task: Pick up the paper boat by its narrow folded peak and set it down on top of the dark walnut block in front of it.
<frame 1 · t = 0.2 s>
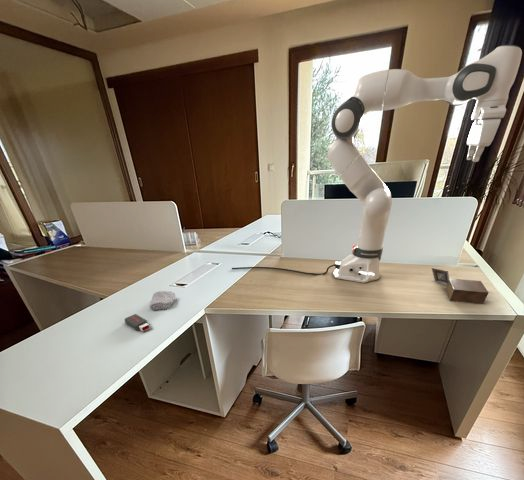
hand: (472, 160, 106), 48 cm above the table, tool pointing down, fingers open, 8 cm apart
walnut block: (463, 296, 121), on the table
stone block: (164, 304, 127), on the table
paper boat: (437, 282, 133), on the table
usb drive: (139, 325, 113), on the table
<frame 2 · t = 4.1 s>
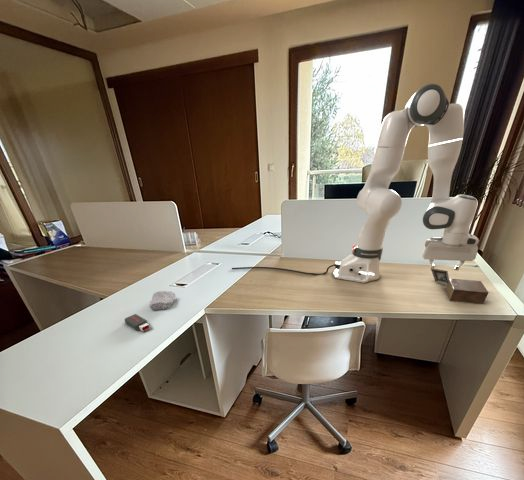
hand: (443, 269, 129), 6 cm above the table, tool pointing down, fingers open, 8 cm apart
paper boat: (437, 282, 133), on the table, touching gripper
everything else where it was.
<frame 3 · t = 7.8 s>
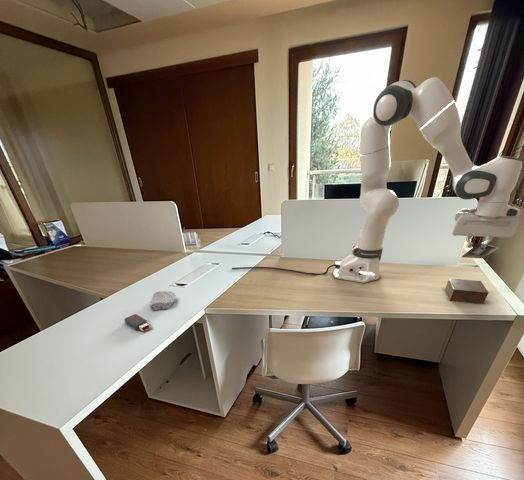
hand: (475, 247, 112), 19 cm above the table, tool pointing down, fingers closed on paper boat, 3 cm apart
paper boat: (484, 256, 112), point 16 cm above the table, touching gripper
everything else where it was.
when the fingers open (10 cm above the table, at t = 10.7 s): paper boat stays where it is, resting on walnut block.
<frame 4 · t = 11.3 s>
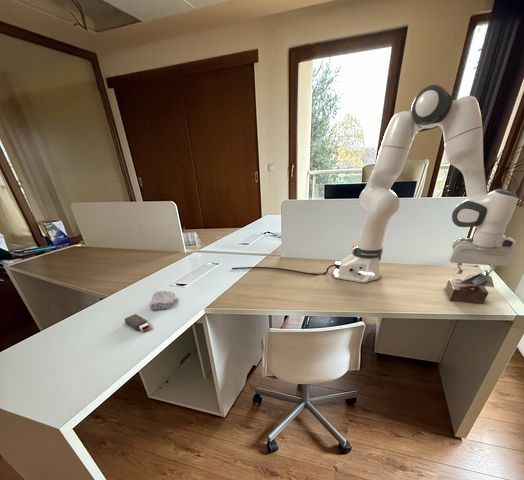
hand: (472, 274, 115), 10 cm above the table, tool pointing down, fingers open, 8 cm apart
paper boat: (480, 285, 116), point 5 cm above the table, touching walnut block
everything else where it was.
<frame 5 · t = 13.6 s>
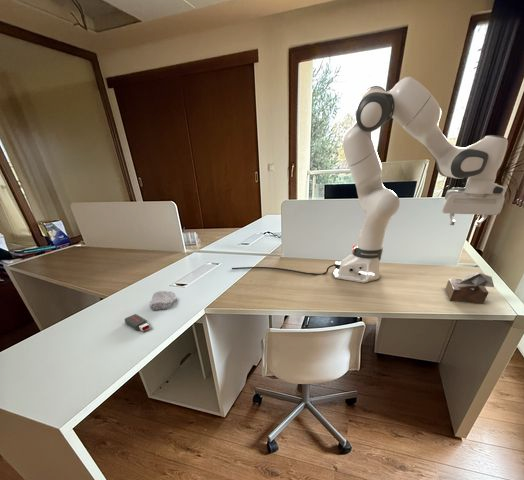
hand: (464, 225, 118), 25 cm above the table, tool pointing down, fingers open, 8 cm apart
nothing on the table moved.
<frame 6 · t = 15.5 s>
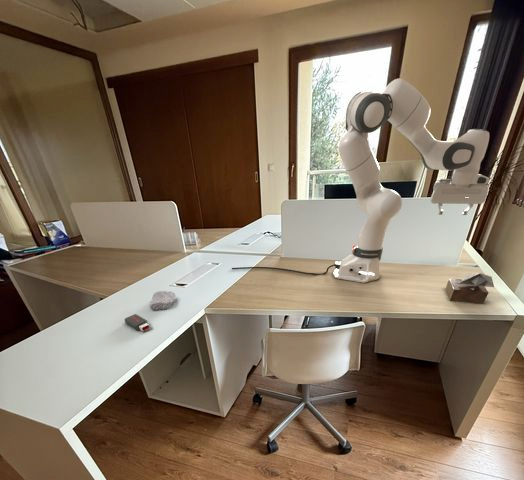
hand: (451, 214, 125), 27 cm above the table, tool pointing down, fingers open, 8 cm apart
nothing on the table moved.
at the end: paper boat inside the target area on the walnut block (4.4 cm from its centre), point 5.4 cm above the walnut block's base; the gripper is holding nothing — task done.
